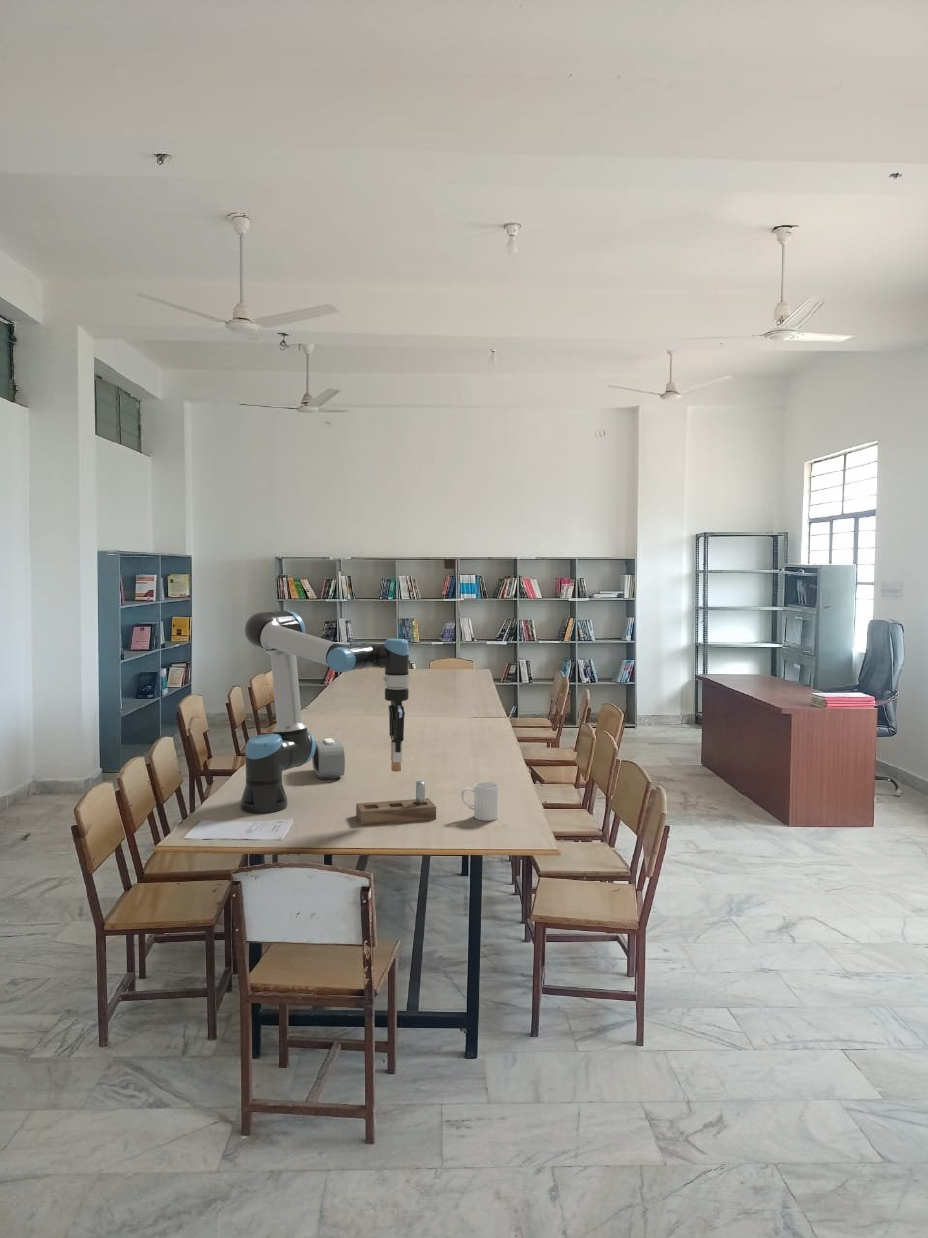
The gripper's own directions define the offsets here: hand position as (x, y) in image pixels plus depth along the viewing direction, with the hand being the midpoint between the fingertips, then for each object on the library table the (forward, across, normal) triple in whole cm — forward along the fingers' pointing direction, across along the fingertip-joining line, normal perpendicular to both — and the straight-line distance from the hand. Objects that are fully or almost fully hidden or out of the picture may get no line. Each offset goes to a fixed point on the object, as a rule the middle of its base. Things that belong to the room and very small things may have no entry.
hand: (396, 760), depth 262 cm
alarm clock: (+19, -60, -14) cm, 65 cm away
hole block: (+19, 0, 0) cm, 19 cm away
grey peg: (+19, 0, +8) cm, 20 cm away
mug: (+19, +7, +26) cm, 33 cm away
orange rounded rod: (+3, 0, 0) cm, 3 cm away
